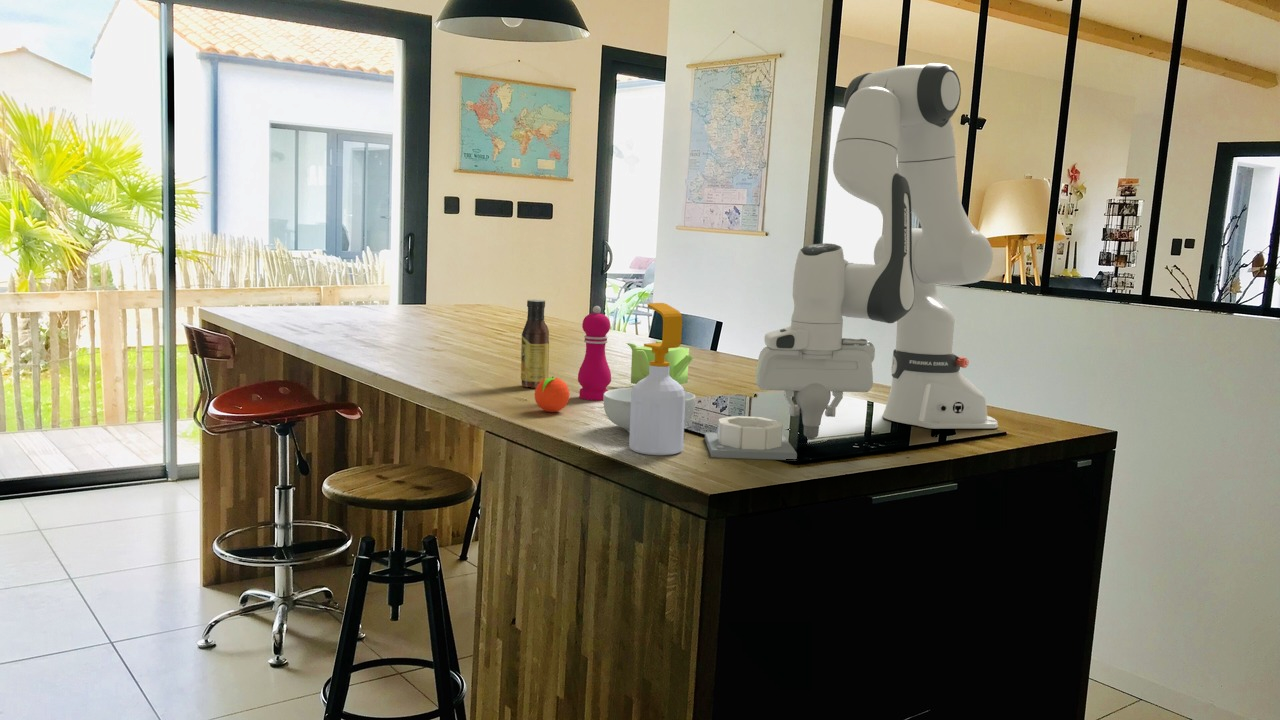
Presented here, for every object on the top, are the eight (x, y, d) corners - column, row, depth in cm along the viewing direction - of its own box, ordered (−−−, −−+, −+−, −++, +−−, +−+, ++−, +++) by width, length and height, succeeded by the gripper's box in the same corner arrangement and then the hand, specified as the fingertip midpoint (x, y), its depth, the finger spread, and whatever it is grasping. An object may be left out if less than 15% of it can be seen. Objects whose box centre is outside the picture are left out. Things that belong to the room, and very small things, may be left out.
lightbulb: (830, 437, 174) (833, 376, 173) (825, 444, 169) (829, 381, 167) (796, 434, 176) (799, 374, 175) (790, 441, 171) (793, 379, 169)
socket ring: (775, 437, 172) (776, 417, 172) (784, 450, 162) (785, 429, 162) (715, 434, 172) (716, 415, 172) (721, 448, 162) (722, 427, 161)
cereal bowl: (648, 419, 191) (650, 383, 190) (712, 434, 179) (714, 396, 178) (583, 428, 179) (584, 390, 178) (647, 445, 167) (648, 405, 166)
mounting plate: (782, 441, 174) (783, 433, 174) (796, 460, 160) (797, 451, 160) (704, 439, 174) (705, 430, 174) (711, 457, 160) (711, 448, 160)
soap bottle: (656, 441, 170) (662, 300, 167) (693, 451, 164) (701, 305, 160) (617, 448, 164) (623, 302, 161) (655, 458, 158) (662, 306, 154)
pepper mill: (617, 398, 212) (620, 306, 210) (598, 402, 206) (601, 307, 204) (589, 394, 216) (592, 303, 214) (570, 398, 210) (573, 305, 208)
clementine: (558, 417, 188) (559, 381, 188) (525, 413, 191) (526, 377, 190) (574, 410, 196) (575, 375, 195) (542, 407, 198) (543, 372, 197)
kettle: (635, 394, 219) (637, 344, 217) (620, 384, 232) (621, 337, 231) (698, 393, 222) (701, 344, 221) (680, 384, 236) (682, 337, 235)
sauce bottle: (524, 383, 227) (526, 298, 224) (550, 385, 226) (553, 299, 223) (517, 388, 220) (519, 300, 217) (544, 389, 219) (546, 301, 217)
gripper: (870, 336, 173) (866, 413, 175) (755, 334, 173) (752, 411, 175) (880, 341, 167) (875, 420, 169) (761, 338, 167) (757, 418, 169)
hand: (812, 415), depth 172 cm, fingers closed on lightbulb, 5 cm apart
